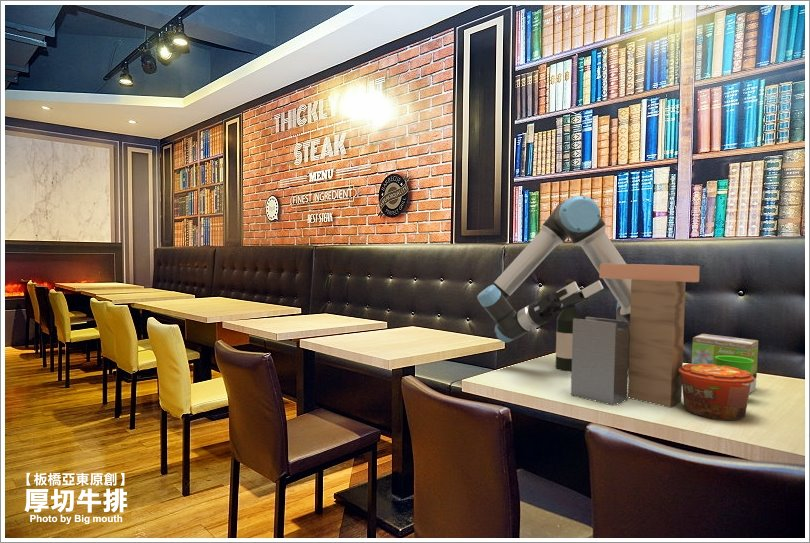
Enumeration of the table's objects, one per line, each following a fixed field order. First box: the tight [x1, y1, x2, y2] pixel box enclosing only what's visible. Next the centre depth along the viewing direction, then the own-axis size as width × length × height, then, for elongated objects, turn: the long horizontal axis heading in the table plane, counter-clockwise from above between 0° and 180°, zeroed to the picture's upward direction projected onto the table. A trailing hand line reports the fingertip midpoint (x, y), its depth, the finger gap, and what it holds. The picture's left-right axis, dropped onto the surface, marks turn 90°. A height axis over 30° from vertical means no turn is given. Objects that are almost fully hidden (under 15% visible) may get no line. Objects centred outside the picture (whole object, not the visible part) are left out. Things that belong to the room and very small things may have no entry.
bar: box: [598, 263, 701, 283], centre depth 137 cm, size 4×24×4 cm, turn 47°
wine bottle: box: [555, 279, 582, 372], centre depth 172 cm, size 8×8×30 cm
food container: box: [678, 363, 754, 421], centre depth 126 cm, size 16×16×11 cm
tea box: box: [690, 333, 759, 394], centre depth 151 cm, size 15×10×15 cm, turn 45°
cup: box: [715, 355, 754, 373], centre depth 139 cm, size 9×9×11 cm
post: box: [627, 279, 687, 408], centre depth 136 cm, size 7×11×32 cm, turn 41°
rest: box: [570, 316, 629, 406], centre depth 137 cm, size 8×12×21 cm, turn 41°
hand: (589, 285), depth 150 cm, fingers open, 13 cm apart
